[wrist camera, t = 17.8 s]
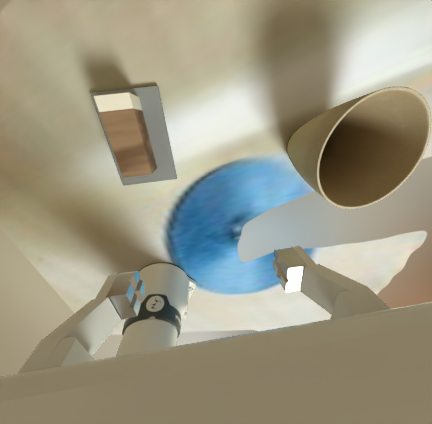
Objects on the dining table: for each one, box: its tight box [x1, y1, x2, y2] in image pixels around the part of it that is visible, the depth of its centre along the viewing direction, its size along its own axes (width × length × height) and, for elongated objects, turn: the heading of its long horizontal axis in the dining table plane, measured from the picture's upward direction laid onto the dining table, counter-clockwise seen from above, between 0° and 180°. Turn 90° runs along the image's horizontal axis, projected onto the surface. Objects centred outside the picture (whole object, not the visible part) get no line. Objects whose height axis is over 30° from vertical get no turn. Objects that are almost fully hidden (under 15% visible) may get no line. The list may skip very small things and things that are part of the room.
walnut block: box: [94, 92, 157, 178], centre depth 30 cm, size 5×5×12 cm
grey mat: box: [90, 86, 177, 185], centre depth 33 cm, size 16×11×1 cm
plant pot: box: [287, 87, 432, 209], centre depth 29 cm, size 15×15×16 cm
